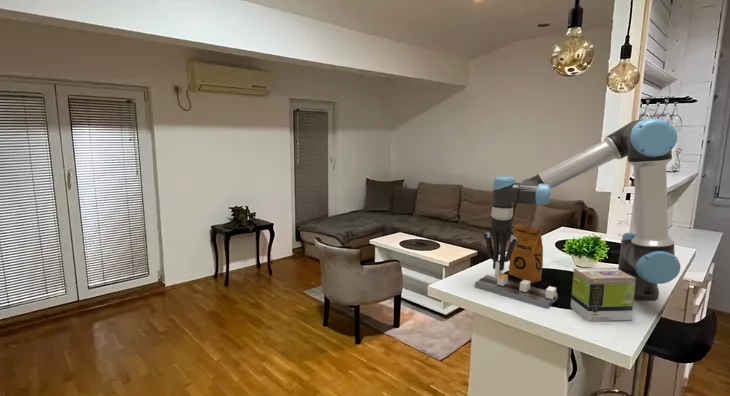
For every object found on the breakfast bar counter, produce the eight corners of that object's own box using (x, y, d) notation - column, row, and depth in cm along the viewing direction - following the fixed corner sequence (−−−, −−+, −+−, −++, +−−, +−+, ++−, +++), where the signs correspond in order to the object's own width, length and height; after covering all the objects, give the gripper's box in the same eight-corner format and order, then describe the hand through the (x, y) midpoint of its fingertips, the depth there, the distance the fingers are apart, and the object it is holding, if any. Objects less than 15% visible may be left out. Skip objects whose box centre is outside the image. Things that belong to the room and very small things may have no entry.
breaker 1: (507, 283, 149) (508, 274, 148) (503, 286, 146) (503, 277, 146) (501, 281, 151) (501, 273, 150) (497, 284, 148) (497, 276, 147)
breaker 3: (555, 295, 138) (556, 287, 137) (552, 299, 135) (553, 291, 134) (548, 294, 139) (549, 286, 139) (545, 297, 136) (545, 289, 136)
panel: (560, 299, 140) (560, 294, 140) (551, 309, 132) (551, 303, 132) (486, 279, 158) (486, 274, 158) (474, 287, 150) (474, 282, 150)
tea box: (611, 307, 134) (616, 266, 132) (632, 321, 125) (638, 278, 122) (568, 307, 134) (573, 266, 131) (586, 321, 124) (591, 278, 121)
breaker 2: (529, 288, 144) (530, 281, 143) (526, 292, 141) (526, 284, 140) (523, 287, 145) (523, 279, 145) (519, 290, 142) (520, 282, 142)
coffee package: (530, 285, 153) (535, 231, 149) (504, 275, 163) (508, 224, 159) (545, 280, 158) (550, 228, 154) (519, 271, 168) (523, 222, 165)
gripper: (522, 218, 144) (518, 279, 148) (489, 213, 152) (485, 270, 156) (515, 222, 138) (510, 284, 142) (481, 216, 147) (477, 276, 151)
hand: (497, 277), depth 149 cm, fingers closed
